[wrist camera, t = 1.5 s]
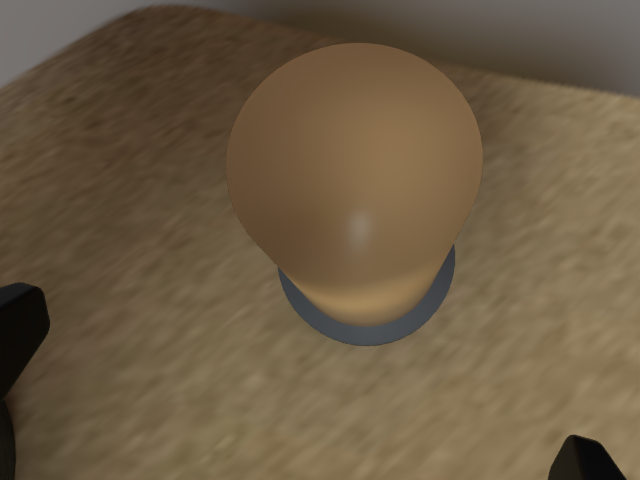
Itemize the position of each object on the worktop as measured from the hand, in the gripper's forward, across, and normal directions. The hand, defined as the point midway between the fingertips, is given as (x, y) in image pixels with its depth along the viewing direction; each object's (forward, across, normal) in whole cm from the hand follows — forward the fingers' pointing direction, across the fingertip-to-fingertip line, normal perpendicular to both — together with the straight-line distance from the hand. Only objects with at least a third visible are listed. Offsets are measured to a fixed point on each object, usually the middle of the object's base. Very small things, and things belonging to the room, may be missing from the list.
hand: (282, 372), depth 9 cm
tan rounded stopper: (+11, 0, +5) cm, 12 cm away
